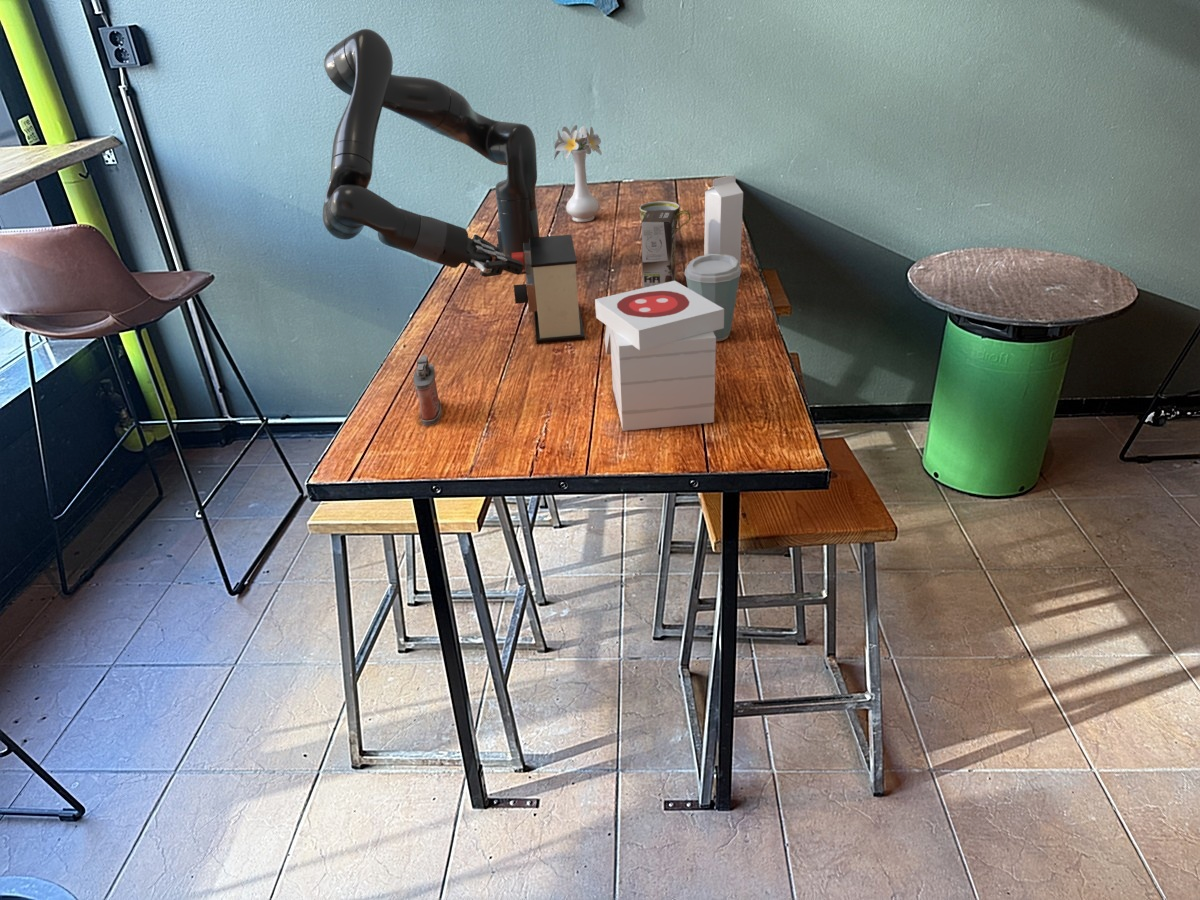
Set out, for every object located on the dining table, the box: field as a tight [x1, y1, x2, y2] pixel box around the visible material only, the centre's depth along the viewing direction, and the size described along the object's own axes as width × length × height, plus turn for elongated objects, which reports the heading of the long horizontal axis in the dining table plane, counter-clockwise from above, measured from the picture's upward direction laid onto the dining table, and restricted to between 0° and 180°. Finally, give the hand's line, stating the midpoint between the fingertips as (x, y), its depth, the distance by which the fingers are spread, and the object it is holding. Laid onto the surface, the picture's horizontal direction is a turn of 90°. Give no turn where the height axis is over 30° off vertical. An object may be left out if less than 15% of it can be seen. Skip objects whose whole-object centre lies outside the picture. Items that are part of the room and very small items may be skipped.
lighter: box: [412, 354, 442, 426], centre depth 138 cm, size 8×3×10 cm, turn 5°
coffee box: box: [641, 210, 676, 288], centre depth 181 cm, size 9×6×16 cm
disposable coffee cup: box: [683, 254, 743, 343], centre depth 158 cm, size 11×11×15 cm
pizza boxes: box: [594, 280, 724, 432], centre depth 139 cm, size 19×30×18 cm, turn 5°
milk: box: [703, 174, 744, 266], centre depth 184 cm, size 6×6×22 cm
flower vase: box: [553, 124, 603, 223], centre depth 227 cm, size 13×18×25 cm
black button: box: [513, 283, 528, 305], centre depth 161 cm, size 2×4×4 cm, turn 6°
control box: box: [523, 234, 586, 345], centre depth 166 cm, size 10×18×16 cm, turn 6°
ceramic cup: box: [639, 200, 692, 235], centre depth 206 cm, size 13×10×10 cm
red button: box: [512, 252, 525, 270], centre depth 167 cm, size 2×4×4 cm, turn 6°
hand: (521, 268), depth 160 cm, fingers closed
